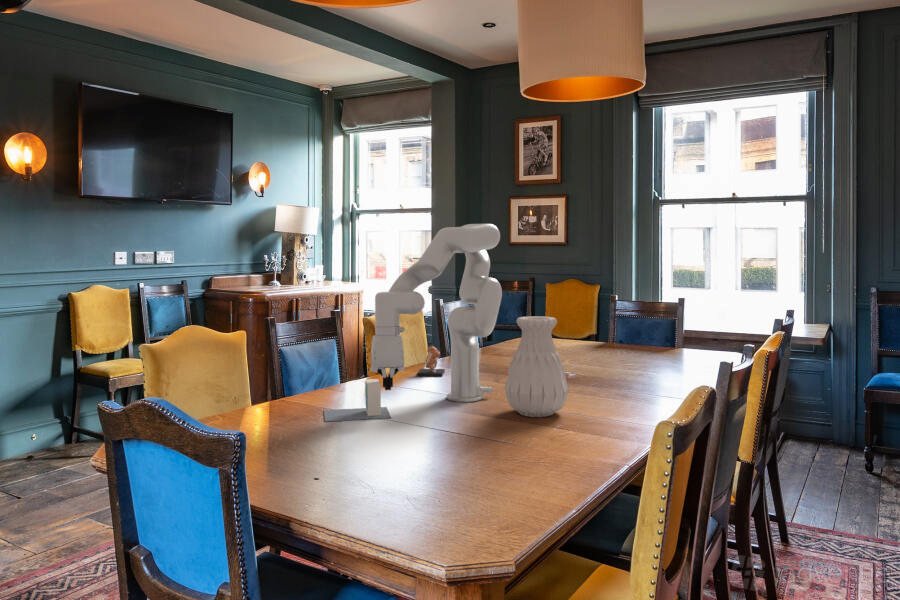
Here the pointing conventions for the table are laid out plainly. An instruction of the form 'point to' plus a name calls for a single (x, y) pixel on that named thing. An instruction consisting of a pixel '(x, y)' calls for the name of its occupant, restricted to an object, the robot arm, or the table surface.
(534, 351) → the vase
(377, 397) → the cream block
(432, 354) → the figurine
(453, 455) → the table surface
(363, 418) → the slate mat
